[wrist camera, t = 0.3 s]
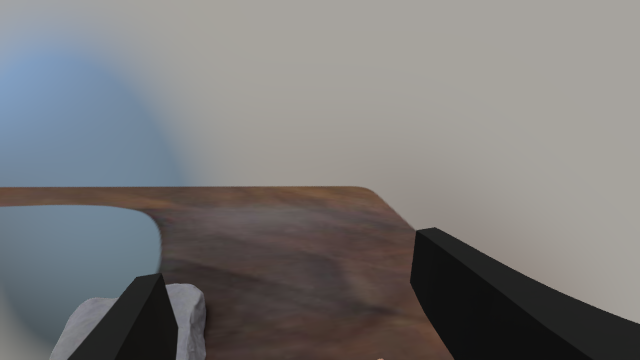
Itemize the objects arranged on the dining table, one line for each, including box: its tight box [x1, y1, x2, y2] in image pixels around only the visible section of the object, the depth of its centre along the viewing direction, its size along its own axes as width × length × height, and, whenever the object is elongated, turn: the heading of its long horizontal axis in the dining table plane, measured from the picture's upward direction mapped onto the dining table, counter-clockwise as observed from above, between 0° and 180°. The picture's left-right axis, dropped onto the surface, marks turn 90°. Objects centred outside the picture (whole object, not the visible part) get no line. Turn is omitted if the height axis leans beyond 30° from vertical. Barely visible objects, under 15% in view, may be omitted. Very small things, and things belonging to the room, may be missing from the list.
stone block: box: [49, 283, 206, 360], centre depth 29 cm, size 12×5×10 cm
